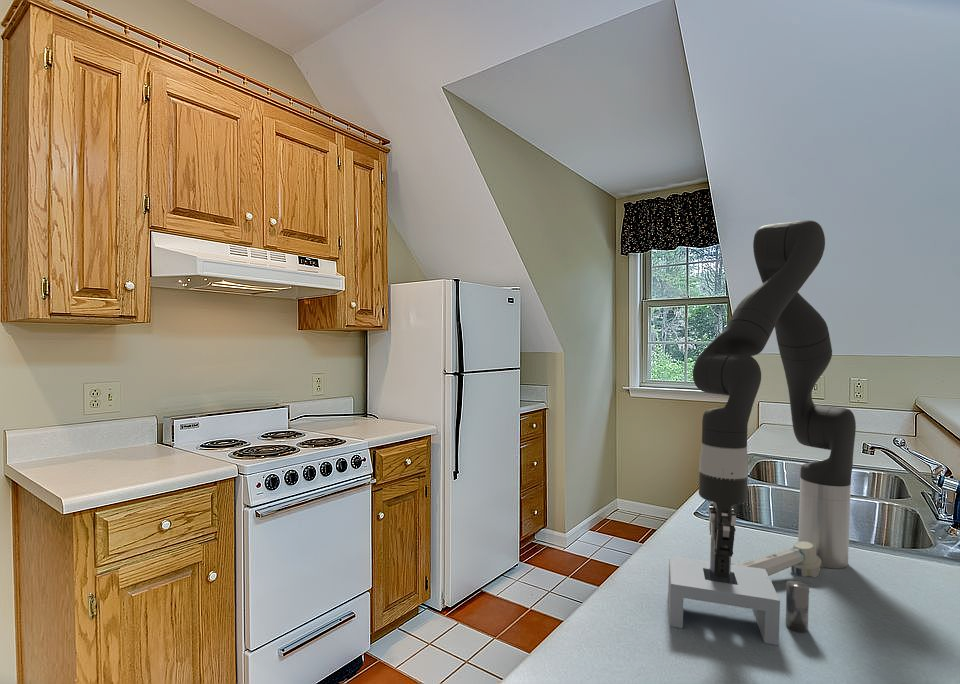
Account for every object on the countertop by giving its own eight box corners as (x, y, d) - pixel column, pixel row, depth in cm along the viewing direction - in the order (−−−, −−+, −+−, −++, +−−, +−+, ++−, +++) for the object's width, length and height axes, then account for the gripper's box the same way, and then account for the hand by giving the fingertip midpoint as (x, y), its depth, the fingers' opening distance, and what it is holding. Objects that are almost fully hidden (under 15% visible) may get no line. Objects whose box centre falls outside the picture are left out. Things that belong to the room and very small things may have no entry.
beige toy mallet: (711, 564, 106) (802, 531, 115) (714, 597, 106) (804, 562, 115) (733, 576, 101) (826, 540, 110) (736, 610, 101) (828, 572, 111)
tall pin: (708, 591, 95) (710, 522, 95) (728, 594, 94) (730, 525, 94) (710, 599, 92) (712, 528, 92) (730, 602, 91) (733, 531, 91)
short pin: (783, 620, 92) (784, 579, 92) (805, 624, 91) (806, 582, 91) (787, 630, 89) (788, 587, 89) (810, 634, 88) (811, 591, 88)
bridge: (668, 593, 101) (669, 555, 101) (764, 608, 96) (765, 569, 96) (669, 625, 90) (670, 583, 90) (778, 645, 85) (780, 600, 85)
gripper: (754, 484, 85) (751, 594, 85) (741, 463, 98) (738, 559, 99) (702, 479, 87) (699, 586, 87) (696, 460, 101) (693, 553, 101)
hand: (720, 571), depth 93 cm, fingers closed on tall pin, 3 cm apart
